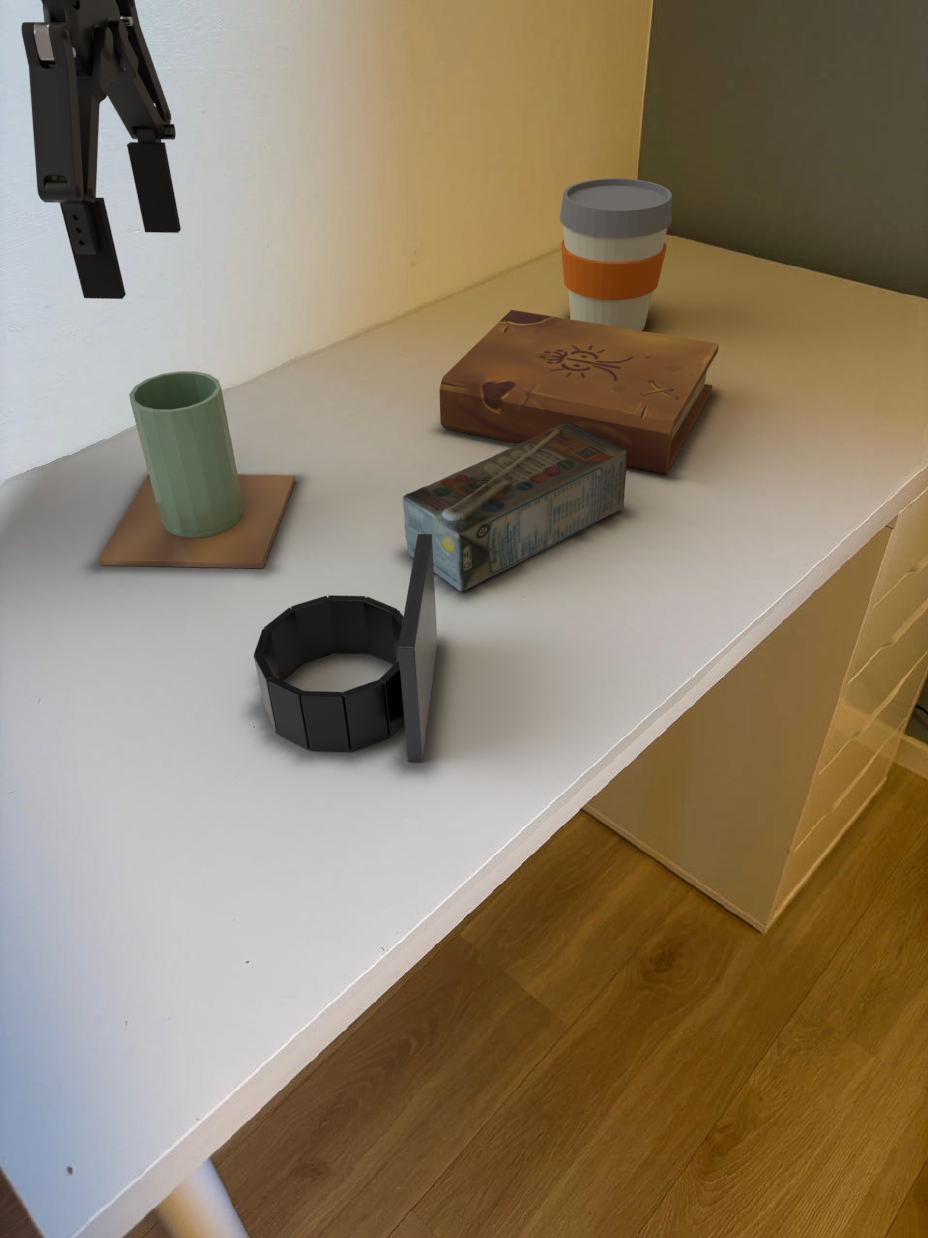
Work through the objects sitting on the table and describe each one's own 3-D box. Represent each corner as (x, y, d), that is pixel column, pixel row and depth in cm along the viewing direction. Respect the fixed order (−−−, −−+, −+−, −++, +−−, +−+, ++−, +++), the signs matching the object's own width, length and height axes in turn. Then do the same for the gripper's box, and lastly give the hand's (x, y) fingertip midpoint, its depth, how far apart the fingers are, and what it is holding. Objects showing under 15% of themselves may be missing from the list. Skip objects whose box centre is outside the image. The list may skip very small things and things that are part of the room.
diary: (440, 433, 100) (438, 380, 96) (510, 358, 113) (510, 309, 109) (664, 478, 92) (671, 422, 89) (711, 393, 105) (719, 341, 102)
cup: (150, 537, 86) (117, 410, 78) (174, 492, 91) (145, 370, 83) (233, 538, 85) (207, 411, 77) (252, 493, 91) (229, 371, 83)
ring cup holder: (249, 756, 66) (223, 643, 60) (285, 640, 75) (266, 530, 69) (422, 762, 66) (414, 647, 59) (437, 643, 75) (432, 533, 68)
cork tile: (99, 565, 84) (97, 559, 83) (150, 478, 94) (148, 472, 94) (263, 568, 83) (262, 562, 82) (295, 480, 93) (294, 474, 93)
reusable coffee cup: (650, 350, 114) (664, 215, 104) (544, 338, 117) (548, 206, 108) (667, 308, 123) (682, 181, 114) (568, 298, 126) (574, 174, 117)
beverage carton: (401, 553, 84) (396, 486, 80) (566, 475, 93) (569, 412, 89) (460, 597, 79) (458, 528, 75) (628, 511, 88) (635, 445, 84)
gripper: (40, -66, 51) (131, 331, 64) (178, -103, 70) (226, 208, 84) (-102, -65, 51) (19, 328, 65) (75, -102, 70) (139, 207, 84)
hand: (136, 261), depth 74 cm, fingers open, 13 cm apart
